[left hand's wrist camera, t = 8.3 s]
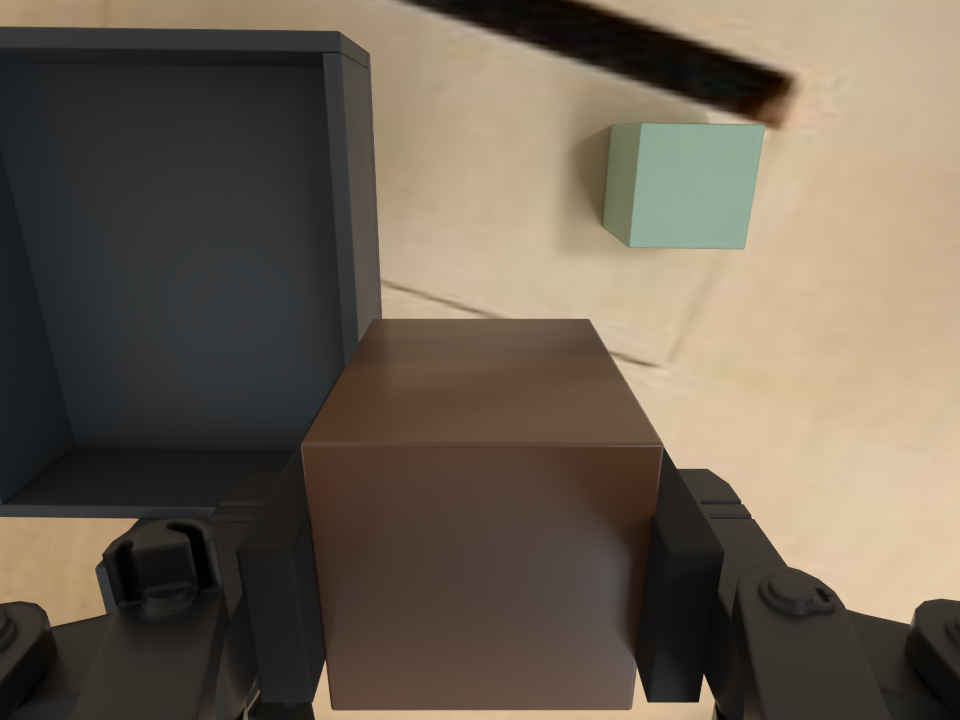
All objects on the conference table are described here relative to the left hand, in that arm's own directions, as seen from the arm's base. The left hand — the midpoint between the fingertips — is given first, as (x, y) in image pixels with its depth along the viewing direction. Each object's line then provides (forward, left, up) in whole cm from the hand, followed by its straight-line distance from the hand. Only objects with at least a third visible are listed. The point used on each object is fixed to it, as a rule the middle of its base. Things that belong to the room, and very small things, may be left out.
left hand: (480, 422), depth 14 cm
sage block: (-10, +2, -19) cm, 21 cm away
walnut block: (0, 0, 0) cm, 0 cm away
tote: (+11, -3, -9) cm, 14 cm away
